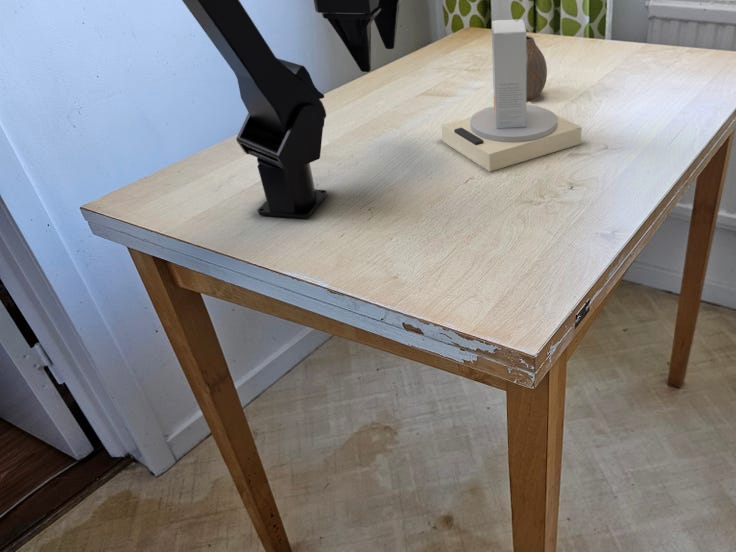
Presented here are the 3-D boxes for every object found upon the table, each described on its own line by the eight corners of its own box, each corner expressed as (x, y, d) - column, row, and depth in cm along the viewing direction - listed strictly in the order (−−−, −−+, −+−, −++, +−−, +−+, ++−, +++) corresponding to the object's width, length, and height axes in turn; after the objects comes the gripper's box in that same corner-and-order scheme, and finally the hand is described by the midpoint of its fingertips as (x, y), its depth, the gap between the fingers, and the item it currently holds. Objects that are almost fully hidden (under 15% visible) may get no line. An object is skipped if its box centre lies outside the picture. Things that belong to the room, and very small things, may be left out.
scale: (489, 171, 86) (489, 148, 84) (442, 141, 94) (440, 119, 92) (580, 144, 92) (582, 121, 90) (528, 117, 100) (529, 96, 98)
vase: (530, 106, 104) (531, 46, 98) (495, 98, 107) (493, 40, 101) (554, 93, 108) (556, 35, 102) (519, 86, 111) (519, 29, 105)
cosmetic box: (493, 113, 93) (491, 19, 86) (523, 111, 93) (524, 18, 86) (495, 129, 89) (492, 32, 81) (526, 128, 89) (527, 31, 81)
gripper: (405, -82, 63) (421, 87, 73) (452, -106, 77) (459, 39, 87) (296, -80, 65) (326, 84, 75) (361, -104, 79) (378, 38, 89)
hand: (378, 59), depth 82 cm, fingers open, 9 cm apart
